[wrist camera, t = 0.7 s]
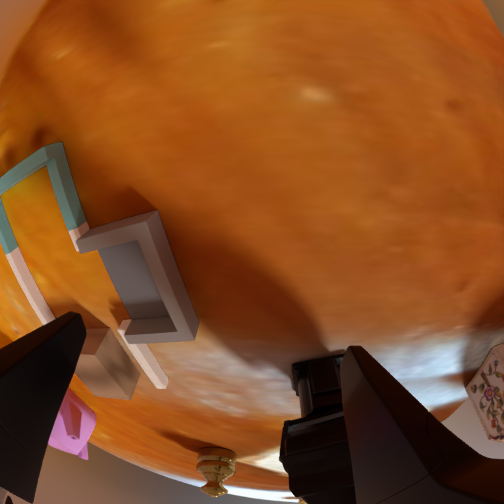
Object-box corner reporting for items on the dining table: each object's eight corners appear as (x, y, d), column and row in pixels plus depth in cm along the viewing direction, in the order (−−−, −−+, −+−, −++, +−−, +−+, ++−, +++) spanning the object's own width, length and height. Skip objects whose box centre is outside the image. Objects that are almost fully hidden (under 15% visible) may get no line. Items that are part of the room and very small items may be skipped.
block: (140, 372, 30) (130, 400, 26) (106, 371, 31) (95, 395, 27) (110, 326, 27) (94, 354, 23) (75, 328, 27) (59, 352, 23)
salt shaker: (244, 455, 42) (242, 498, 33) (217, 460, 44) (214, 500, 35) (217, 443, 39) (212, 491, 30) (190, 449, 42) (184, 492, 33)
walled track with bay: (223, 376, 29) (222, 393, 27) (91, 375, 31) (84, 388, 29) (129, 108, 17) (113, 108, 14) (-8, 189, 19) (-22, 196, 17)
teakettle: (20, 350, 32) (-12, 398, 21) (98, 396, 35) (75, 456, 24) (35, 392, 39) (14, 432, 28) (100, 428, 42) (84, 473, 31)
